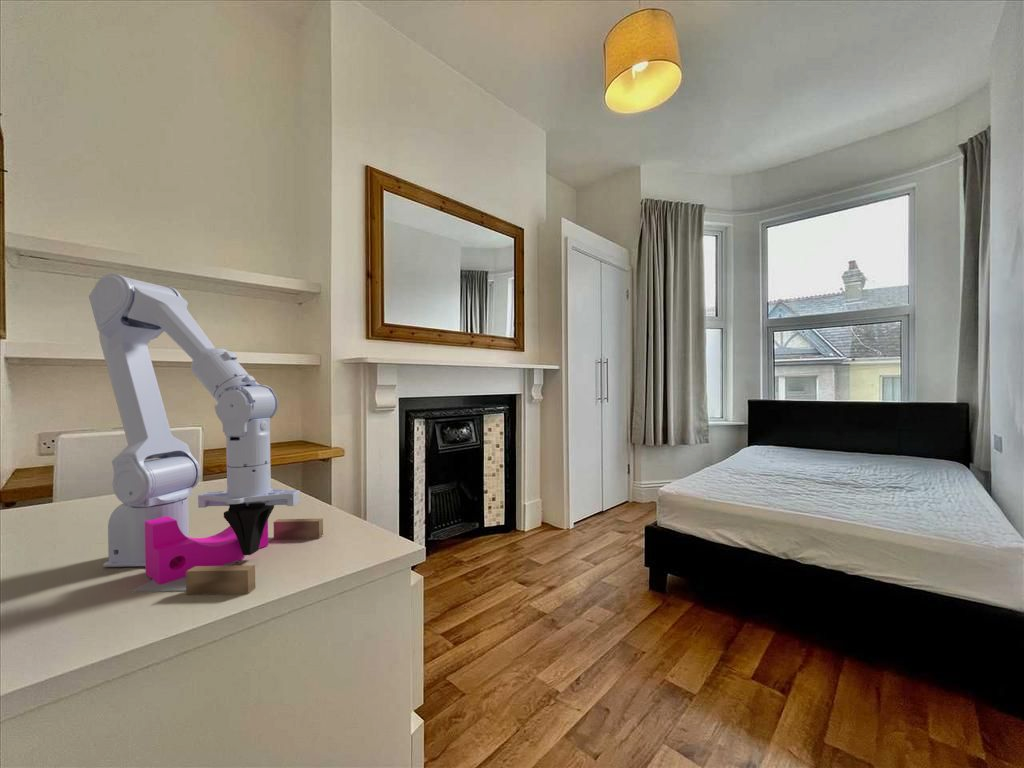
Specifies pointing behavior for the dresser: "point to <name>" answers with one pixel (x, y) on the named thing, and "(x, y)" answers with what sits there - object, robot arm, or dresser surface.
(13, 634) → the dresser surface
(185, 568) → the toy block
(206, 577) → the pair of brown pieces
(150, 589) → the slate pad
